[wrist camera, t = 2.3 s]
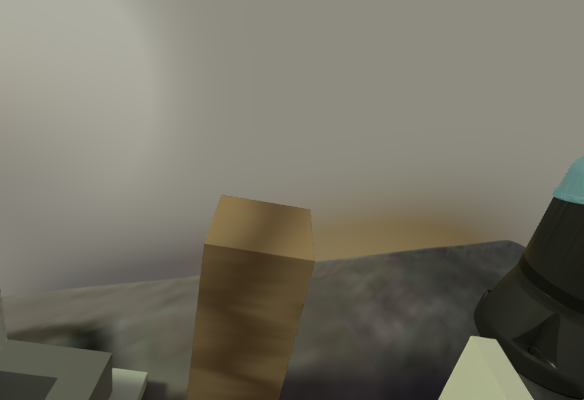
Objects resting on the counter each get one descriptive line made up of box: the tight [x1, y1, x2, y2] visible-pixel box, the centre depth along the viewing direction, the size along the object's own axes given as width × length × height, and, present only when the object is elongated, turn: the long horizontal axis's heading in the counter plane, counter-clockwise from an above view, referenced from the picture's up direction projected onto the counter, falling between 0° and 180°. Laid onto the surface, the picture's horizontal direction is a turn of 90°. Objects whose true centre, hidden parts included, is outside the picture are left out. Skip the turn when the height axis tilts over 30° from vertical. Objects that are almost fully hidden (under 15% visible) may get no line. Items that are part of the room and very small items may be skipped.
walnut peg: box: [187, 195, 315, 400], centre depth 28 cm, size 6×6×18 cm
